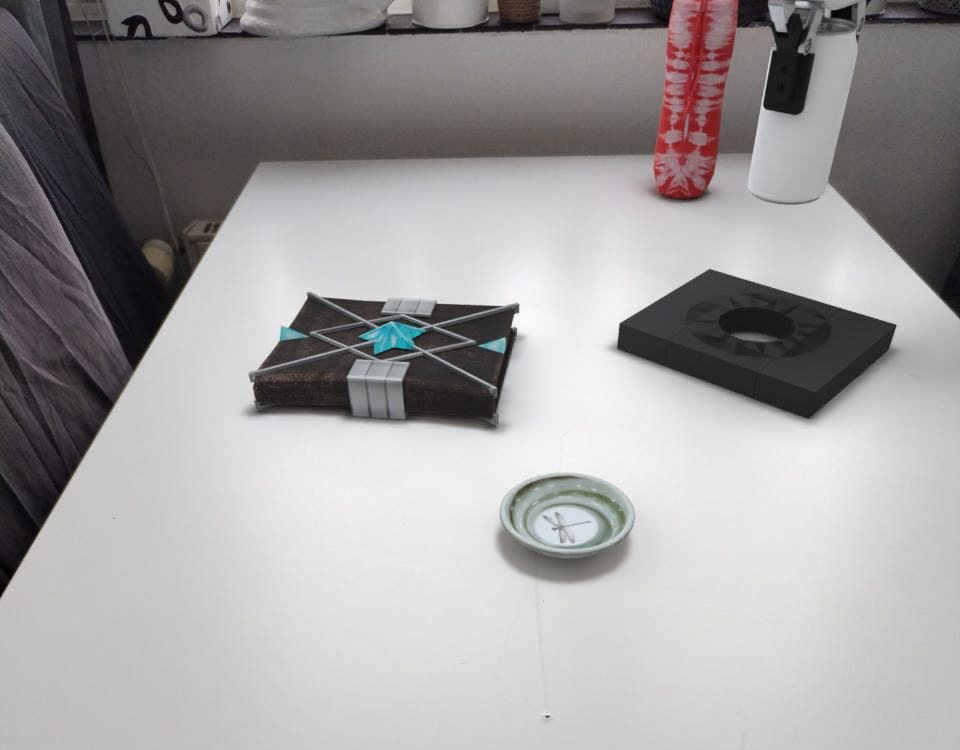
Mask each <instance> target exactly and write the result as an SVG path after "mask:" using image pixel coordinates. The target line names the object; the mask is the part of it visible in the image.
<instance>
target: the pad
mask: <svg viewBox="0 0 960 750" xmlns="http://www.w3.org/2000/svg"><path fill="white" fill-rule="evenodd" d="M896 329H897V324H896V323H892V322H889V321H886V320H883V319H878V318H876V317H873V316H869V315H867V314H862V313H860V312H856V311H852V310H849V309H846V308H843V307H839V306H836V305H832V304H829V303H825V302H823V301H818V300H816V299H812V298H809V297H806V296H803V295H799V294H796V293H793V292H789V291H786V290H782V289H779V288H775V287H772V286H769V285H766V284H762V283H758V282H755V281H751V280H749V279H745V278H743V277H739V276H736V275H732V274H729V273H725V272H722V271H718V270H716V269H712V268H708V269H707V270H705V271H703V272H702V273H700V274H698V275H697V276H695V277H693V278H692V279H690V280H689V281H687V282H685V283H684V284H682V285H680V286H679V287H676V288H675V289H674V290H672V291H670V292H669V293H667V294H665V295H664V296H662V297H660V298H658V299H657V300H655V301H654V302H652V303H651V304H649V305H647V306H646V307H644V308H642V309H641V310H639V311H637V312H636V313H634V314H633V315H631V316H629V317H627V318H626V319H624V320H622V321H621V322H619V323H618V334H617V345H616V346H617V347H616V348H617V349H619V350H622V351H625V352H627V353H630V354H632V355H635V356H638V357H641V358H644V359H646V360H649V361H652V362H654V363H657V364H659V365H663V366H665V367H668V368H671V369H673V370H676V371H678V372H682V373H684V374H687V375H690V376H692V377H695V378H698V379H701V380H703V381H707V382H709V383H712V384H715V385H717V386H719V387H722V388H725V389H727V390H730V391H734V392H736V393H738V394H742V395H744V396H746V397H750V398H753V399H756V401H757V400H758V401H761V402H764V403H766V404H768V405H771V406H773V407H775V408H779V409H782V410H785V411H788V412H790V413H793V414H795V415H799V416H801V417H804V418H807V419H810V418H811V417H813V416H814V415H815V414H816V413H817V412H818V411H820V410H821V409H822V408H823V407H825V405H826V404H828V403H829V402H830V401H831V400H832V399H833V398H834V397H836V396H837V395H838V394H840V393H841V392H842V391H843V390H844V389H845V388H846V387H847V386H848V385H850V384H851V383H852V382H853V381H855V380H856V379H857V378H858V377H859V376H860V375H861V374H862V373H864V371H866V370H867V369H868V368H869V367H871V366H872V365H873V364H874V363H875V362H876V361H878V360H879V359H880V358H881V357H883V356H884V355H885V354H886V353H887V352H888V351H889V350H890V348H891V345H892V342H893V338H894V335H895V332H896ZM744 332H746V333H747V332H751V333H758V334H765V335H768V336H771V337H774V338H777V339H778V340H775V341H774V340H773V341H758V340H757V341H756V340H749V339H743V338H741V337H738V336H734V335H731V334H733V333H744Z"/></svg>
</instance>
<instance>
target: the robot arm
mask: <svg viewBox="0 0 960 750" xmlns="http://www.w3.org/2000/svg"><path fill="white" fill-rule="evenodd" d="M871 2H872V0H768V1H767V6H768V11H769V14H770V19H771V20H770V21H771V24H770V26H771V27H770V28H771V33H772V37H771V40H770V51H771V50H772V56H771V62H770V68H769V73H768V79H767V84H766V90H765V96H764V101H763V107H764V108H765V109H766V110H770V111H776V112H781V113H786V114H791V115H798V114H800V113H802V112H803V110H804V106H805V101H806V96H807V91H808V86H809V81H810V77H811V72H812V67H813V62H814V57H815V54H814V53H809V52H810V50H811V47H812V45H813V42H814V39H815V36H816V33H817V31H818V28H819V25H820V22H821V20H822V17H830V18H839V19H845V20H849V21H852V22H854V23H856V24H857V25H858V29H857V30H856V40H857V45H858V44H859V39H860V35H859V34H861V33H862V31H863V29H864V27H865V22H866V10H867V8H868V6H869V4H870V3H871ZM801 14H802V15H808V16H807V17H808V19H807V22H806V25H805V28H804V29H803V25H802V21H801Z"/></svg>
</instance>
